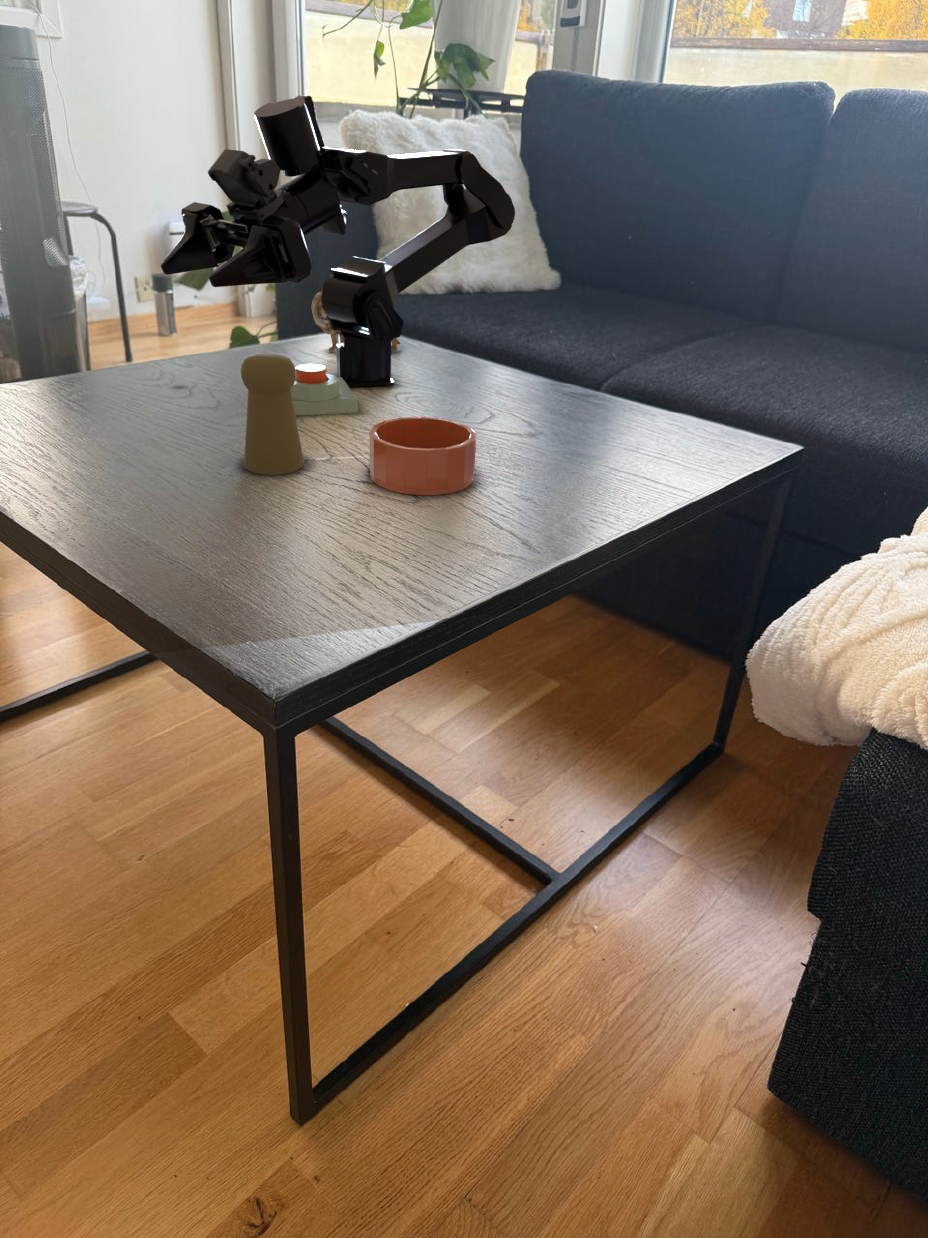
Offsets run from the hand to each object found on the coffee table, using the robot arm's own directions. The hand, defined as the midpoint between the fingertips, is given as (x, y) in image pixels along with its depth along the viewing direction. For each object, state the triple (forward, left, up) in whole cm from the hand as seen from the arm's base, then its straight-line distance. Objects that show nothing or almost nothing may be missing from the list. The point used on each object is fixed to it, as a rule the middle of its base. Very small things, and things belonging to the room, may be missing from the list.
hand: (186, 275), depth 95 cm
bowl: (-20, +23, -15) cm, 34 cm away
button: (-13, -2, -12) cm, 18 cm away
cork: (-6, +17, -16) cm, 24 cm away
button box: (-13, -4, -15) cm, 21 cm away
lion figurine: (-24, -29, -16) cm, 41 cm away
